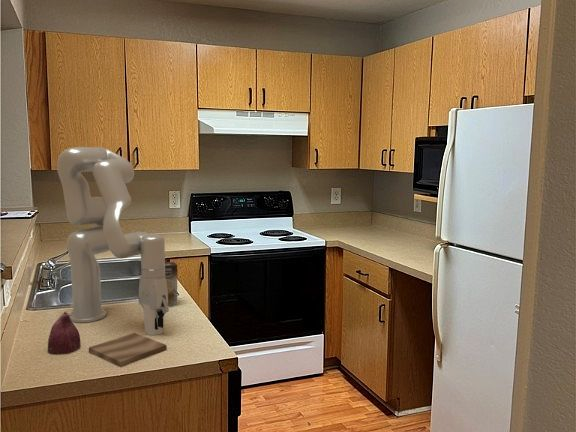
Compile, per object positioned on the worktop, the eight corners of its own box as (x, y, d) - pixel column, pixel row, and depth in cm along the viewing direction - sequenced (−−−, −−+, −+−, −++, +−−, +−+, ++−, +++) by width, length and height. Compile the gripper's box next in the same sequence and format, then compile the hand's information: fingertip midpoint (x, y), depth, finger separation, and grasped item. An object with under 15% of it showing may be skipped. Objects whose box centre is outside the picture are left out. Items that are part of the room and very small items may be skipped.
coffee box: (153, 308, 195) (152, 266, 193) (150, 303, 201) (150, 263, 199) (177, 305, 199) (177, 264, 197) (174, 300, 204) (174, 261, 202)
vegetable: (82, 359, 155) (89, 320, 151) (48, 362, 150) (54, 321, 146) (77, 341, 162) (83, 304, 159) (44, 343, 157) (50, 304, 154)
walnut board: (88, 352, 153) (88, 347, 153) (134, 337, 166) (134, 332, 165) (120, 366, 143) (120, 361, 143) (166, 349, 156) (166, 344, 156)
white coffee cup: (163, 327, 175) (163, 298, 173) (164, 334, 168) (164, 304, 167) (143, 329, 173) (142, 300, 172) (143, 336, 167) (143, 306, 165)
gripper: (128, 270, 170) (129, 324, 172) (160, 279, 160) (161, 336, 162) (146, 266, 176) (148, 318, 178) (179, 274, 166) (180, 329, 168)
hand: (154, 326), depth 170 cm, fingers closed on white coffee cup, 3 cm apart
